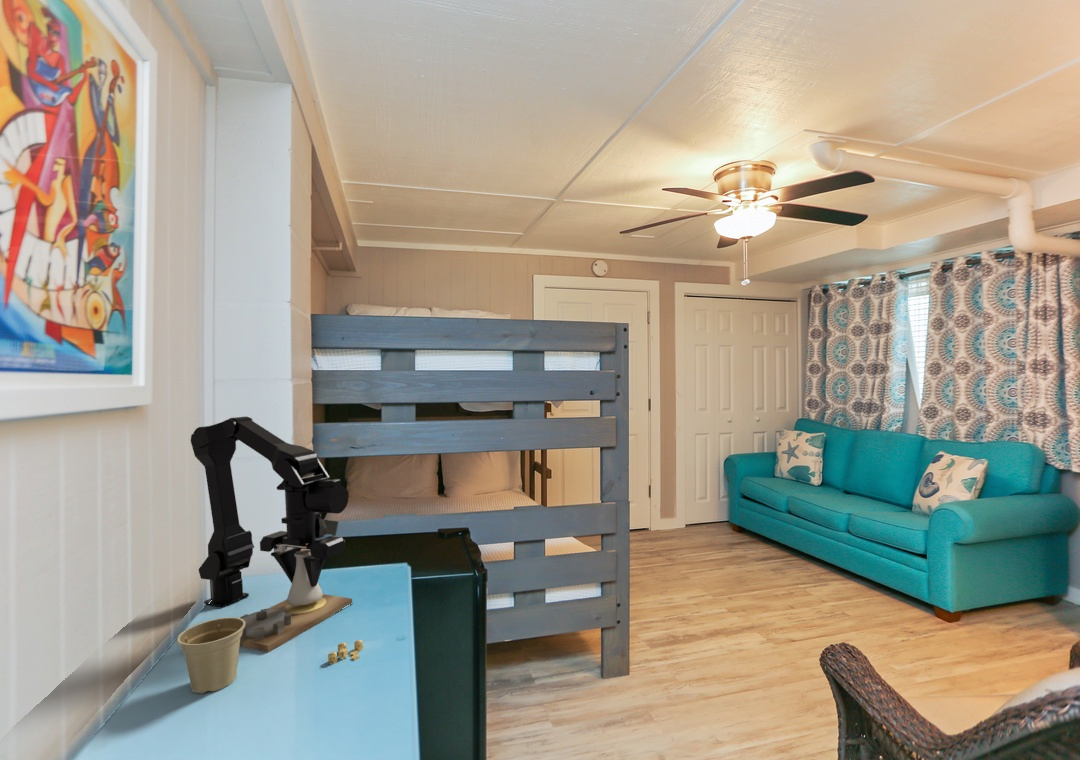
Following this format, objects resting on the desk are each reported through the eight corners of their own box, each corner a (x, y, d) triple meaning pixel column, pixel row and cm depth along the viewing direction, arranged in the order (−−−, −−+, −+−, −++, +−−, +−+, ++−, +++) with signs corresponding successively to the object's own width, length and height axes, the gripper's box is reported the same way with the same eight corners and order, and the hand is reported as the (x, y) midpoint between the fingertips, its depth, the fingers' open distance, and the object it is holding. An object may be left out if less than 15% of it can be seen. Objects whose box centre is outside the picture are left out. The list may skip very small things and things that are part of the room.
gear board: (212, 641, 100) (211, 619, 100) (304, 596, 120) (303, 577, 120) (265, 653, 95) (264, 630, 95) (352, 604, 115) (351, 584, 115)
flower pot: (260, 667, 90) (257, 616, 90) (222, 701, 81) (219, 644, 81) (208, 666, 91) (206, 616, 91) (165, 700, 82) (162, 644, 82)
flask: (286, 610, 107) (284, 560, 107) (285, 597, 114) (283, 551, 113) (325, 601, 110) (323, 553, 110) (321, 590, 117) (319, 544, 117)
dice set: (327, 668, 90) (326, 656, 90) (336, 652, 95) (335, 642, 95) (357, 665, 91) (357, 654, 91) (365, 650, 96) (364, 639, 96)
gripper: (362, 504, 116) (365, 575, 116) (299, 499, 123) (302, 566, 123) (323, 517, 105) (326, 596, 105) (256, 511, 113) (260, 585, 113)
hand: (304, 584), depth 112 cm, fingers closed on flask, 5 cm apart
